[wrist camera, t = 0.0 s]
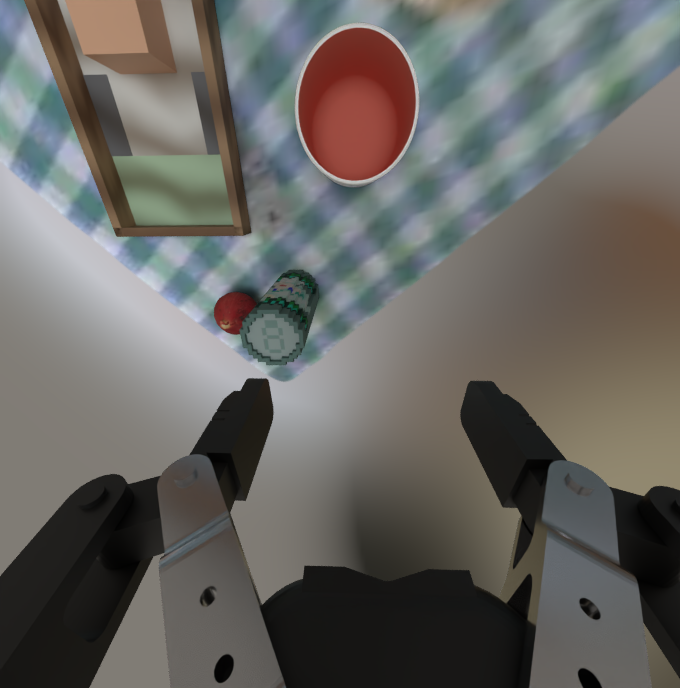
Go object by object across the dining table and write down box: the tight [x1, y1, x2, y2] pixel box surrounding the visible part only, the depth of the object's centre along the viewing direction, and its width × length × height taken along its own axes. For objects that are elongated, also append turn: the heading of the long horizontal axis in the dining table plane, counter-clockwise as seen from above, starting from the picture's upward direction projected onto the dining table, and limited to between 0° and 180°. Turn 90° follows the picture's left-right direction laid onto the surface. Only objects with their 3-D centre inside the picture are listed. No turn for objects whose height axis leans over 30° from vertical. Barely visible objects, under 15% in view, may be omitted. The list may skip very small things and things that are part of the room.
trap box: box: [24, 0, 251, 237], centre depth 28 cm, size 24×16×3 cm, turn 1°
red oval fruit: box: [214, 292, 257, 335], centre depth 37 cm, size 6×6×8 cm
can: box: [240, 270, 319, 365], centre depth 33 cm, size 6×6×15 cm
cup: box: [295, 23, 419, 187], centre depth 26 cm, size 10×10×10 cm
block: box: [65, 0, 177, 74], centre depth 24 cm, size 6×6×4 cm
